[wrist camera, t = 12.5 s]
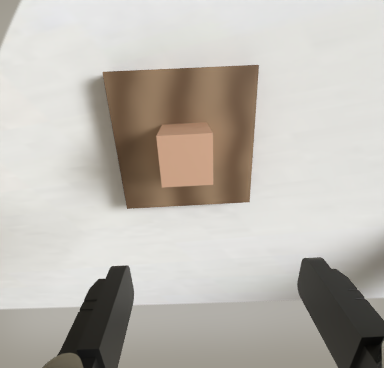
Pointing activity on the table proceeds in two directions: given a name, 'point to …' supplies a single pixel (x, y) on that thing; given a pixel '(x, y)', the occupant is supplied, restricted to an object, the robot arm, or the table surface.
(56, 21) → the table surface
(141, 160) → the walnut base
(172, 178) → the stacking block
